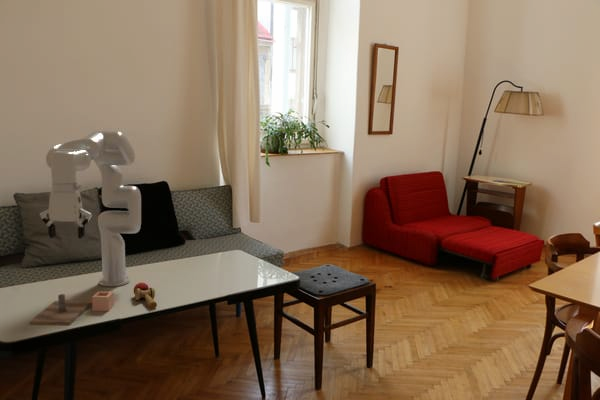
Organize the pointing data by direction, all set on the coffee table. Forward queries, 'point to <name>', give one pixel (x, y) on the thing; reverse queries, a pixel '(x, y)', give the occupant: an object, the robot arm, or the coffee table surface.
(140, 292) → the kendama
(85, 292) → the coffee table surface
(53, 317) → the post block
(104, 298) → the collar
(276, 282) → the coffee table surface
